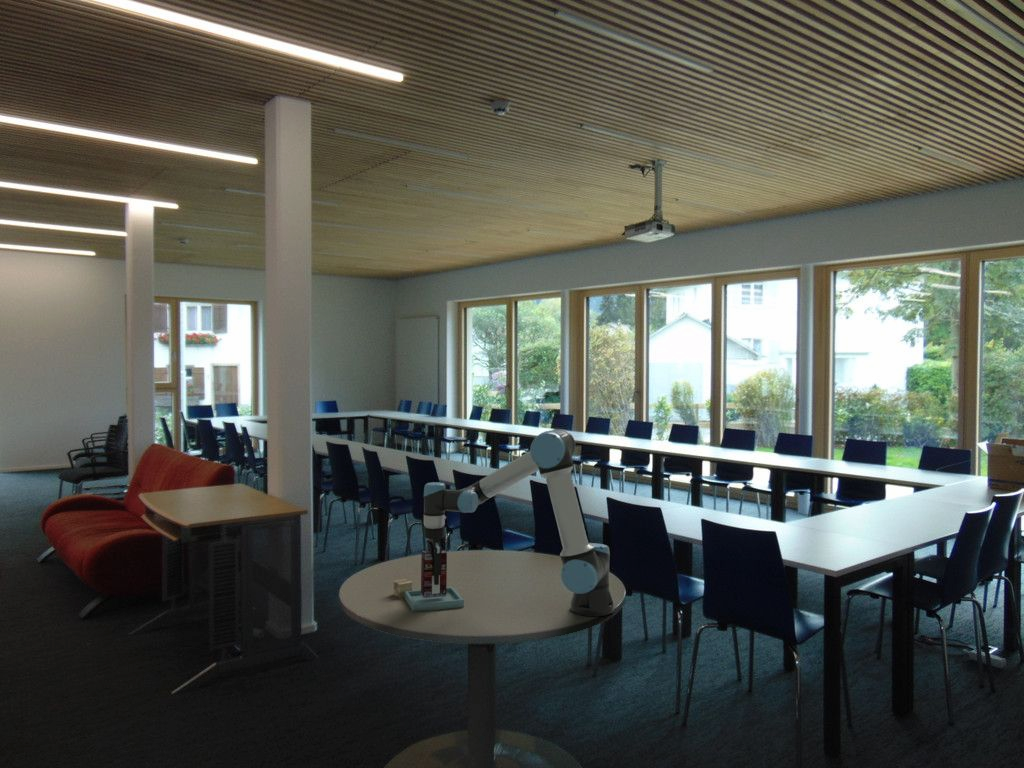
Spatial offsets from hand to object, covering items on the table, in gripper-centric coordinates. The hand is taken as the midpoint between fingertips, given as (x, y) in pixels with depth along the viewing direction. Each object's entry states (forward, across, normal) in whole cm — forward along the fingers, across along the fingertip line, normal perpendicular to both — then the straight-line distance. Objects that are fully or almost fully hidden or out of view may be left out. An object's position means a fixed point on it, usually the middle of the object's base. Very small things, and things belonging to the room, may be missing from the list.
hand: (434, 590), depth 268 cm
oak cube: (+4, +12, +9) cm, 16 cm away
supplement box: (+2, 0, 0) cm, 2 cm away
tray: (+4, 0, 0) cm, 4 cm away
